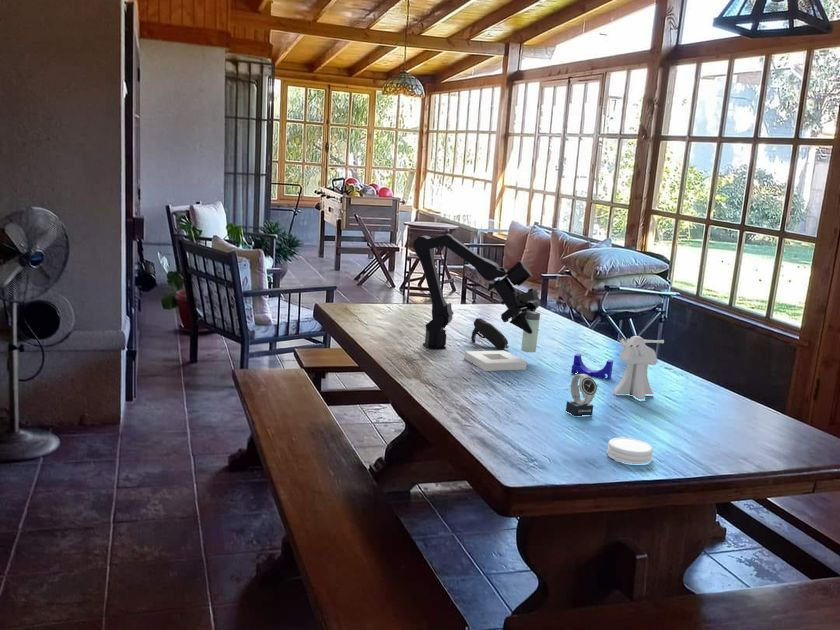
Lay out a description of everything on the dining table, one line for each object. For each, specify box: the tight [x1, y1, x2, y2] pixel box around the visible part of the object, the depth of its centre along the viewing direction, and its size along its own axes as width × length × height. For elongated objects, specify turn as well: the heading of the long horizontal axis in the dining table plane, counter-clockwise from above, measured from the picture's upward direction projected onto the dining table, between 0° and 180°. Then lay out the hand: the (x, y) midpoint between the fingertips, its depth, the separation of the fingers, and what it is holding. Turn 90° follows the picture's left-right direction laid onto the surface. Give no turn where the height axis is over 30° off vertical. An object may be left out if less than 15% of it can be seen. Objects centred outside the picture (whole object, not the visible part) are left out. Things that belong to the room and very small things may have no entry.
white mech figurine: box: [612, 335, 665, 399], centre depth 229 cm, size 12×13×18 cm
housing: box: [463, 350, 528, 372], centre depth 254 cm, size 15×15×2 cm
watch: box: [565, 374, 598, 416], centre depth 206 cm, size 6×8×11 cm
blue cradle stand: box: [570, 353, 614, 380], centre depth 249 cm, size 12×4×6 cm, turn 64°
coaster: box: [606, 437, 654, 464], centre depth 177 cm, size 10×10×4 cm
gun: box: [470, 317, 510, 351], centre depth 280 cm, size 3×16×10 cm, turn 53°
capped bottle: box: [520, 311, 541, 353], centre depth 258 cm, size 5×5×13 cm
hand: (534, 332), depth 257 cm, fingers closed on capped bottle, 5 cm apart
